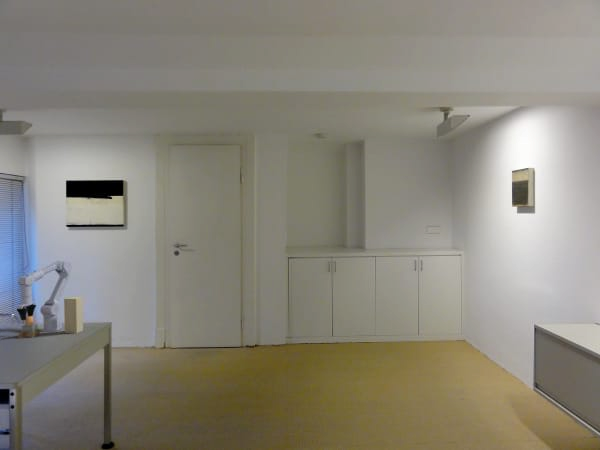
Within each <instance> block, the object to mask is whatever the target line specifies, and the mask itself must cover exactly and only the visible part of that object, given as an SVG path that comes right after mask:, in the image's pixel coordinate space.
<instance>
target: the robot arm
mask: <svg viewBox="0 0 600 450" xmlns="http://www.w3.org/2000/svg"><path fill="white" fill-rule="evenodd" d="M72 268H73V266H72V263H71V262H70V261H69V260H67V261H66V260H65V261H64V260H63V261H61V260H60V261H59V260H56V261H54V262H52V263H51V264H49V265H47V266H46V267H43V268H42V269H34V270H33V271H32V272H30V273H27V274H26V275H22V276H20V277H19V279H18V281H17V283H18V285H19V289H20V303H18V305H17V307H18V308H16V311H17V312H18V315H19V318H20V320H21V321H25V320H26V317H27V316H34V312H35V309H36V308H37V305H36V304H35V303H36V302H35V300H33V285H34V283H35V282H37V281H39V280H40V279H42V278H44V275H47V274H49V273H51V272H53V271H55V272H56V273H57V275H59V276H58V277H59V278H58V280H57V282H56V283H55V286H54V289H53V290H52V293H51V294H50V297H49V299H47V300H46V301H45V302H44V304H43V305H42V306H41V307H40V309H39V310H40V313H41V314H42V319H43V329H40V332H52V331H53V332H54V331H58V330H60V329H63V326H62V323H63V322H62V316H61V315H59V314H58V313H60V312H59V311H60V306H61V304H60V302H59V301H60V299H61V297H62V295H63V293H64V290H65V288H66V286H67V284H68V283H69V282H68V281H69V280H70V278H71V271H72Z"/></svg>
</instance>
